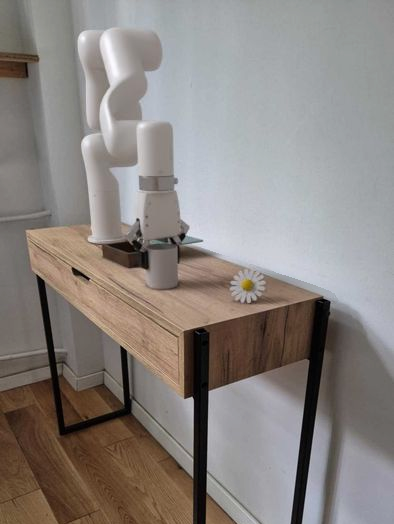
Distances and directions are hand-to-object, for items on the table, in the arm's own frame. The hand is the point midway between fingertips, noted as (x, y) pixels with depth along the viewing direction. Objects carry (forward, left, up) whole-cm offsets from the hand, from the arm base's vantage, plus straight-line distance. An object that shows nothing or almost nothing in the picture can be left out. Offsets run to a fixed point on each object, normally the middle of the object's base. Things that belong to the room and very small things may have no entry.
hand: (159, 265), depth 111 cm
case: (-24, +7, -4) cm, 26 cm away
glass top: (-24, +20, -1) cm, 31 cm away
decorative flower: (+17, +9, -5) cm, 20 cm away
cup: (0, 0, -5) cm, 5 cm away
